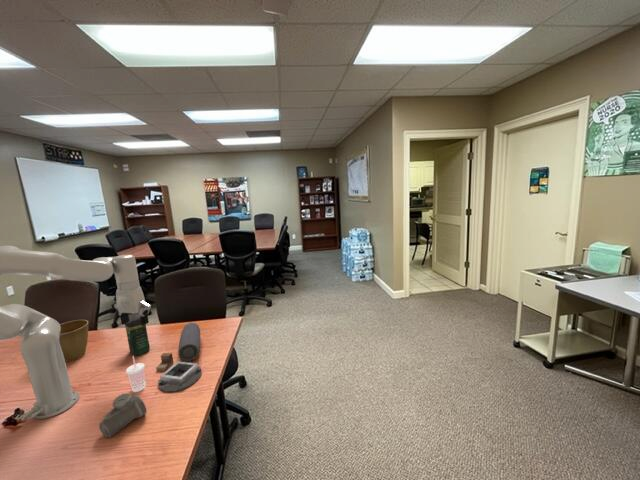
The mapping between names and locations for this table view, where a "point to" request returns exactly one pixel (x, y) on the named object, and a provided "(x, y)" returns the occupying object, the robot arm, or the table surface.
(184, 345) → the bluetooth speaker
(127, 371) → the beverage cup
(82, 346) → the plant pot
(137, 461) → the table surface
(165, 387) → the gray windowed housing
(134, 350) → the coffee jar
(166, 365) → the walnut bracket
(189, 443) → the table surface
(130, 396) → the pipe fitting
